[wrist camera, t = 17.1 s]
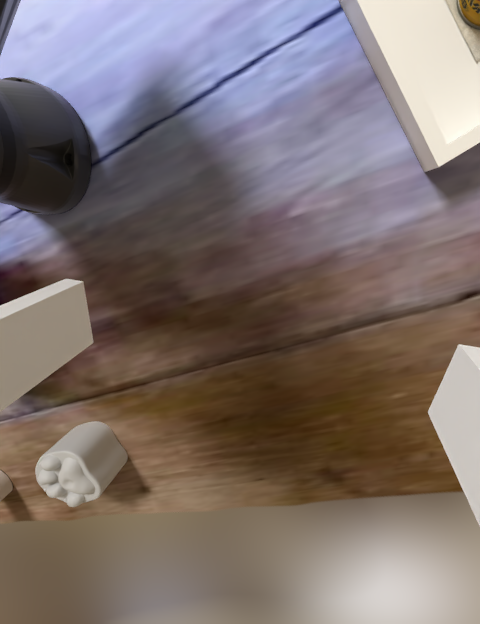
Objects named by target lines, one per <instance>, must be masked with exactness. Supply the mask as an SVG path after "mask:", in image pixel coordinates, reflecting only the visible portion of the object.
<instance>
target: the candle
mask: <svg viewBox="0 0 480 624" xmlns="http://www.w3.org/2000/svg"><path fill="white" fill-rule="evenodd" d="M12 489H13V486H12V482H11V480H10V479H9V477H8V476H7V475H6V474H5V473H4V472H2V471H1V470H0V501H1V500H2V499H3V498H4V497H6V496H7V495H8V494H9V493H10V492H11V491H12Z"/></svg>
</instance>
